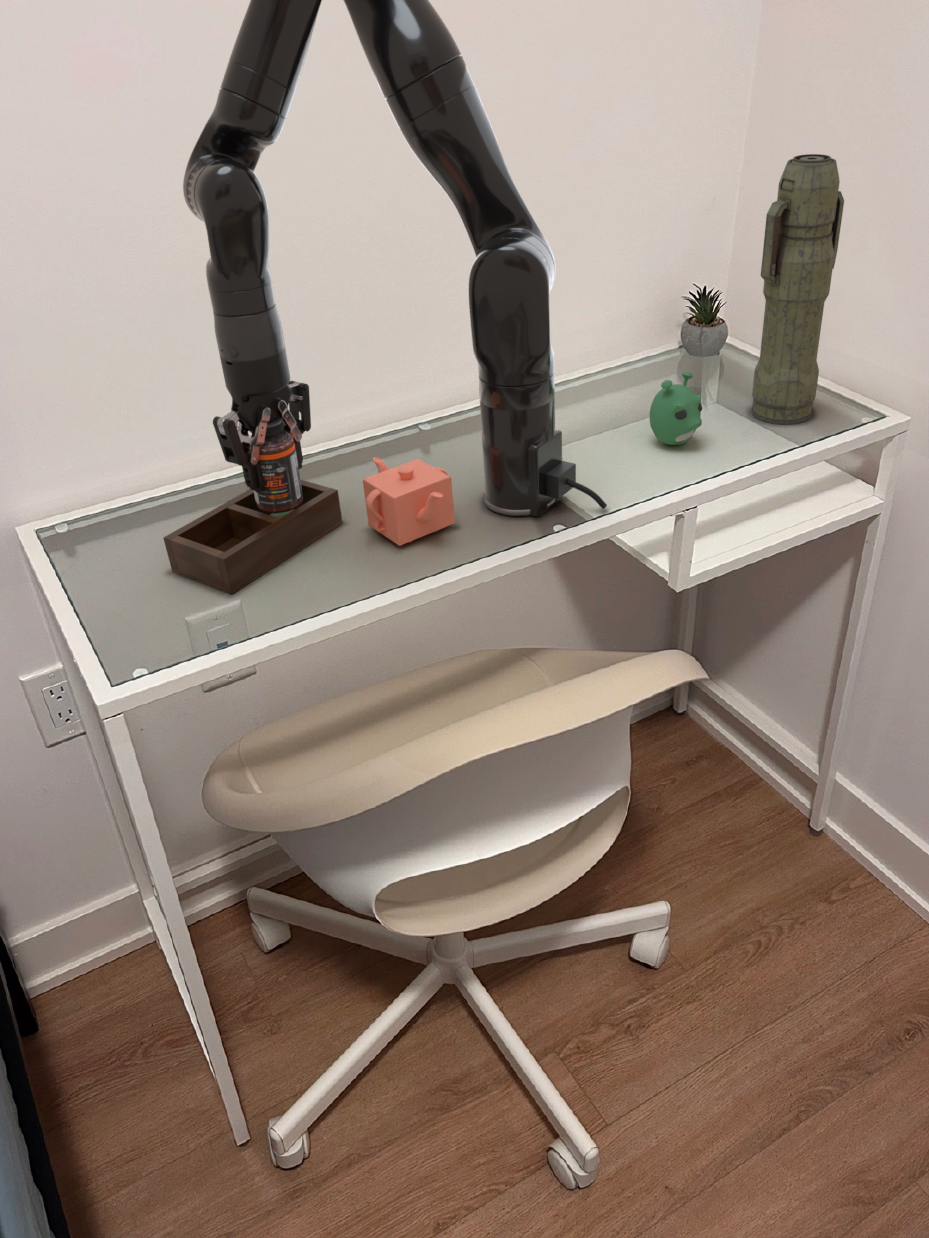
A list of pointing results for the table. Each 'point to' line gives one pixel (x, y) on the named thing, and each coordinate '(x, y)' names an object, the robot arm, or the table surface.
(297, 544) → the organizer
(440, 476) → the teapot
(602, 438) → the table surface
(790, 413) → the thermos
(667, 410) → the alien toy
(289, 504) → the supplement bottle
